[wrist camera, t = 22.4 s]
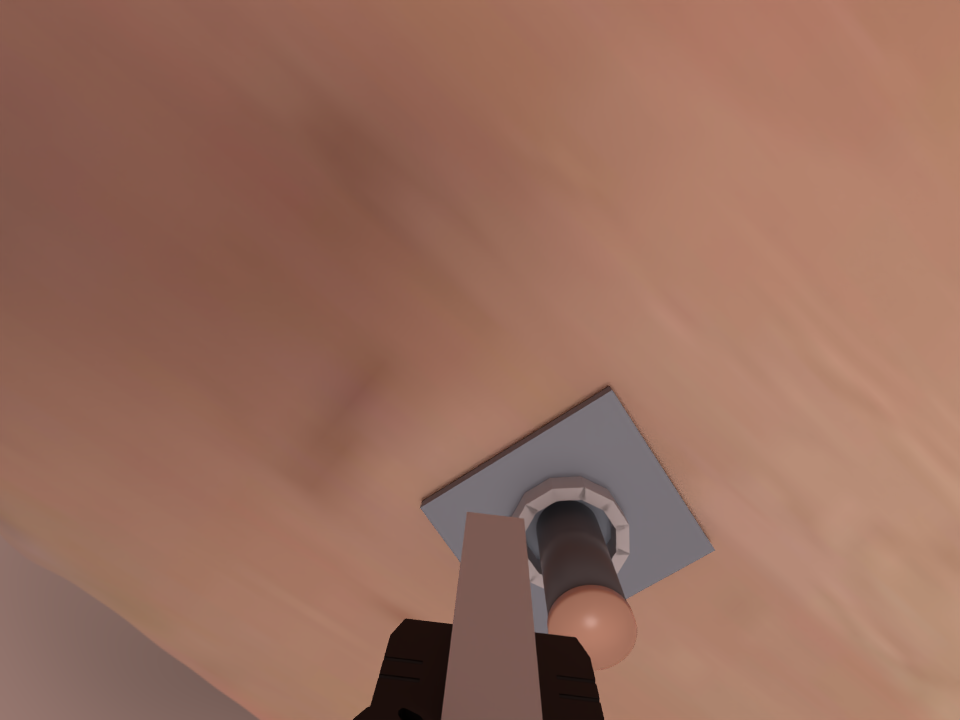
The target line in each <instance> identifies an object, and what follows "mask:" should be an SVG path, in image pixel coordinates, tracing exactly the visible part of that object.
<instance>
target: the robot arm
mask: <svg viewBox="0 0 960 720" xmlns="http://www.w3.org/2000/svg"><path fill="white" fill-rule="evenodd" d="M353 720H604V716H603V712H602V707H601V703H599V694H598V689H597V685H596V684H595V676H594V671H593V667H592V663H591V658H590V656H589V655H588V653H587V652H586V651H585V649H584V648H583V646H582V645H581V643H580V642H579V641H578V639H577V638H576V637H570V636H562V635H553V634H545V633H537V632H535V631H534V620H533V609H532V599H531V588H530V577H529V566H528V555H527V544H526V533H525V522H524V518H516V517H507V516H499V515H490V514H482V513H473V512H467V515H466V523H465V531H464V539H463V547H462V555H461V563H460V571H459V579H458V587H457V595H456V603H455V612H454V620H453V624H447V623H438V622H430V621H422V620H413V619H405V620H404V621H403V622H402V623H401V624H400V625H399V626H398V627H397V628H396V630H395V631H394V632H393V633H392V634H391V635H390V638H389V642H388V645H387V649H386V653H385V656H384V660H383V663H382V667H381V670H380V674H379V678H378V681H377V684H376V688H375V691H374V695H373V699H372V702H371V706H370V707H367V708H366V709H365V710H363V711H362V712H361V713H360V714H359V715H357V716H356V717H355V718H354V719H353Z"/></svg>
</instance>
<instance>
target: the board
mask: <svg viewBox="0 0 960 720" xmlns="http://www.w3.org/2000/svg"><path fill="white" fill-rule="evenodd" d="M567 500H573V501H578V502H580V503H583V504H584V505H586V506H587V507H589V508H590V509H591V510H592V511H593V513H594V514H595V516H596V518H597V521H598V524H599V526H600V529H601V532H602V535H603V537H604V540H605V543H606V546H607V549H608V551H609V554H610V557H611V560H612V562H613V565H614V568H615V571H616V573H617V576H618V579H619V582H620V584H621V587H622V590H623V593H624V595H625V598H626V599H627V598H629V597H631V596H633V595H634V594H636V593H638V592H640V591H642V590H643V589H645V588H647V587H649V586H651V585H653V584H654V583H656V582H658V581H660V580H662V579H664V578H665V577H667V576H669V575H671V574H673V573H675V572H676V571H678V570H680V569H682V568H684V567H685V566H687V565H689V564H691V563H693V562H695V561H696V560H698V559H700V558H702V557H704V556H706V555H707V554H709V553H711V552H713V551H715V549H714V548H713V546H712V545H711V543H710V542H709V540H708V539H707V537H706V535H705V534H704V532H703V531H702V529H701V528H700V526H699V525H698V523H697V521H696V520H695V518H694V517H693V515H692V514H691V512H690V510H689V509H688V507H687V506H686V504H685V503H684V501H683V500H682V498H681V496H680V495H679V493H678V492H677V490H676V489H675V487H674V486H673V484H672V482H671V481H670V479H669V478H668V476H667V475H666V473H665V472H664V470H663V468H662V467H661V465H660V464H659V462H658V461H657V459H656V458H655V456H654V454H653V453H652V451H651V450H650V448H649V447H648V445H647V443H646V442H645V440H644V439H643V437H642V436H641V434H640V433H639V431H638V429H637V428H636V426H635V425H634V423H633V422H632V420H631V419H630V417H629V415H628V414H627V412H626V411H625V409H624V408H623V406H622V405H621V403H620V401H619V400H618V398H617V397H616V395H615V394H614V392H613V390H612V389H611V388H610V387H609V386H608V387H607V388H605V389H604V390H602V391H600V392H599V393H597V394H595V395H594V396H592V397H591V398H589V399H587V400H586V401H584V402H582V403H581V404H579V405H578V406H576V407H574V408H573V409H571V410H569V411H568V412H566V413H565V414H563V415H561V416H560V417H558V418H556V419H555V420H553V421H552V422H550V423H548V424H547V425H545V426H543V427H542V428H540V429H539V430H537V431H535V432H534V433H532V434H530V435H529V436H527V437H526V438H524V439H522V440H521V441H519V442H517V443H516V444H514V445H513V446H511V447H509V448H508V449H506V450H504V451H503V452H501V453H500V454H498V455H496V456H495V457H493V458H491V459H490V460H488V461H487V462H485V463H483V464H482V465H480V466H478V467H477V468H475V469H474V470H472V471H470V472H469V473H467V474H465V475H464V476H462V477H461V478H459V479H457V480H456V481H454V482H452V483H451V484H449V485H448V486H446V487H444V488H443V489H441V490H439V491H438V492H436V493H435V494H433V495H431V496H430V497H428V498H426V499H425V500H423V501H422V504H421V507H420V508H421V510H422V511H423V512H424V514H425V515H426V516H427V518H428V519H429V521H430V522H431V523H432V525H433V526H434V527H435V529H436V530H437V531H438V533H439V534H440V535H441V537H442V538H443V539H444V541H445V542H446V544H447V545H448V546H449V548H450V549H451V550H452V552H453V553H454V554H455V556H456V557H457V558H458V560H459V561H460V563H461V555H462V547H463V539H464V531H465V523H466V515H467V512H473V513H482V514H490V515H499V516H507V517H516V518H524V522H525V533H526V544H527V555H528V566H529V577H530V588H531V599H532V609H533V620H534V631H535V632H537V633H545V634H548V627H547V619H548V614H547V607H546V599H545V592H544V584H543V577H542V569H541V562H540V554H539V547H538V539H537V531H536V526H537V521H538V518H539V516H540V515H541V513H542V512H543V511H544V509H546V508H547V507H548V506H549V505H551V504H553V503H555V502H558V501H567Z"/></svg>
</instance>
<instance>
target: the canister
mask: <svg viewBox="0 0 960 720" xmlns="http://www.w3.org/2000/svg"><path fill="white" fill-rule="evenodd" d="M536 531H537V539H538V547H539V554H540V562H541V569H542V577H543V584H544V592H545V599H546V607H547V614H548V619H547V627H548V634H553V635H562V636H570V637H576V638H577V639H578V641H579V642H580V643H581V645H582V646H583V648H584V649H585V651H586V652H587V653H588V655H589V656H590V658H591V663H592V667H593V671H594V670H602V669H606V668H609V667H612V666H614V665H616V664H618V663H619V662H621V661H622V660H623V659H625V658H626V657H627V656H628V654H629V653H630V652H631V650H632V649H633V647H634V645H635V642H636V638H637V625H636V621H635V618H634V615H633V613H632V610H631V608H630V606H629V604H628V602H627V601H626V598H625V595H624V593H623V590H622V587H621V584H620V582H619V579H618V576H617V573H616V571H615V568H614V565H613V562H612V560H611V557H610V554H609V551H608V549H607V546H606V543H605V540H604V537H603V535H602V532H601V529H600V526H599V524H598V521H597V518H596V516H595V514H594V513H593V511H592V510H591V509H590V508H589V507H587V506H586V505H584V504H583V503H580V502H578V501H573V500H567V501H558V502H555V503H553V504H551V505H549V506H548V507H547V508H546V509H544V511H543V512H542V513H541V515H540V516H539V518H538V521H537V526H536Z"/></svg>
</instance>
